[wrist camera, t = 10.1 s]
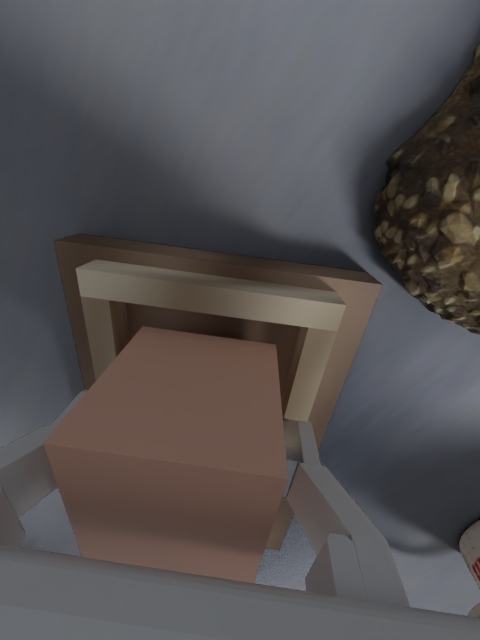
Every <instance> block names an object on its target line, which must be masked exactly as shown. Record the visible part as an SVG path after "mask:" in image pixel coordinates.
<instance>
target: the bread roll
mask: <svg viewBox="0 0 480 640" xmlns="http://www.w3.org/2000/svg"><path fill="white" fill-rule="evenodd" d="M387 165H388V167H389V170H388V172H387V175H386V185H385V186H384V187H383V188H382V189H381V190H380V192H379V193H378V194H377V195H376V199H375V209H374V225H375V238H376V239H377V241H378V242H379V246H380V252H381V253H382V254H383V255H384V256H385V258H386V259H387V260H388V261H389V263H390V264H391V265H392V267H393V268H394V270H395V271H396V273H397V274H398V276H399V277H400V279H401V281H402V282H403V283H404V288H405V289H406V290H407V291H408V292H409V293H410V294H412V295H413V296H414V297H415V298H417V299H419V301H420V302H421V303H422V304H423V305H424V306H425V307H426V308H427V309H428V310H429V311H431V312H434V313H437V314H439V315H440V316H441V319H443V320H445V321H447V322H449V323H456V324H458V325H460V326H462V327H463V328H466V329H468V330H469V331H470V332H472V333H476V334H479V335H480V44H479V45H478V46H477V48H476V49H475V51H474V59H473V62H472V64H471V65H470V66H469V67H468V69H467V70H466V71H465V73H464V74H463V76H462V78H461V80H460V81H459V83H458V85H457V86H456V88H455V90H454V92H453V93H452V95H451V96H450V97H449V98H448V99H447V101H446V102H445V103H444V104H443V105H442V106H441V107H440V108H439V109H438V111H437V112H436V113H435V114H434V115H433V116H432V117H431V118H430V119H429V120H428V122H427V123H426V124H425V125H424V126H423V127H422V128H421V129H420V130H419V131H418V132H416V133H415V134H414V135H413V136H412V137H410V138H409V139H408V140H407V141H406V142H404V143H403V144H402V145H401V146H400V147H399V148H398V149H397V150H396V151H395V152H394V153H393V155H392V156H391V157H390V158H389V159H388V160H387Z"/></svg>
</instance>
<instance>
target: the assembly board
mask: <svg viewBox="0 0 480 640" xmlns="http://www.w3.org/2000/svg"><path fill="white" fill-rule="evenodd" d="M54 245H55V250H56V255H57V259H58V264H59V269H60V274H61V279H62V283H63V288H64V293H65V298H66V303H67V307H68V312H69V317H70V322H71V327H72V331H73V336H74V341H75V346H76V351H77V355H78V360H79V365H80V370H81V375H82V379H83V384H84V389H85V390H89V389H90V387H91V386H92V385H93V384H94V383H95V382H96V380H97V379H98V378H99V377H100V376H101V375H102V373H103V372H104V371H105V370H106V369H107V368H108V366H109V365H110V364H111V363H112V362H113V360H114V359H115V358H116V357H117V356H118V355H119V353H120V352H121V351H122V350H123V349H124V348H125V346H126V345H127V344H128V343H129V342H130V341H131V339H132V338H133V337H134V336H135V335H136V334H137V332H138V331H139V330H140V329H141V328H142V326H145V327H152V328H159V329H167V330H174V331H181V332H188V333H195V334H203V335H210V336H217V337H224V338H231V339H239V340H246V341H253V342H260V343H267V344H275V345H276V350H277V361H278V372H279V383H280V394H281V405H282V416H283V418H285V419H293V420H299V421H307V422H311V424H312V426H313V431H314V435H315V440H316V444H317V449H318V450H319V447H320V445H321V442H322V440H323V437H324V434H325V432H326V429H327V427H328V424H329V422H330V419H331V416H332V414H333V411H334V409H335V406H336V404H337V401H338V398H339V396H340V393H341V391H342V388H343V385H344V383H345V380H346V378H347V375H348V373H349V370H350V367H351V365H352V362H353V360H354V357H355V355H356V352H357V349H358V347H359V344H360V342H361V339H362V336H363V334H364V331H365V329H366V326H367V324H368V321H369V318H370V316H371V313H372V311H373V308H374V306H375V303H376V300H377V298H378V295H379V293H380V290H381V288H382V284H381V283H380V282H379V281H377V280H376V279H375V278H374V277H373V276H371V275H370V274H369V273H368V272H361V271H353V270H346V269H338V268H331V267H323V266H316V265H309V264H301V263H294V262H286V261H279V260H271V259H264V258H256V257H249V256H242V255H234V254H227V253H219V252H212V251H204V250H197V249H189V248H182V247H175V246H167V245H160V244H152V243H145V242H137V241H130V240H122V239H115V238H107V237H100V236H93V235H85V234H76V235H72V236H68V237H64V238H61V239H57V240H54ZM293 514H294V512H293V510H292V508H291V506H290V504H289V502H288V501H287V497H282V499H281V502H280V505H279V508H278V511H277V514H276V517H275V520H274V523H273V526H272V529H271V532H270V535H269V538H268V541H267V544H266V547H265V548H266V549H273V550H280V548H281V545H282V543H283V540H284V538H285V535H286V532H287V530H288V527H289V525H290V522H291V520H292V517H293Z"/></svg>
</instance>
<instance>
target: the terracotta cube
mask: <svg viewBox="0 0 480 640" xmlns="http://www.w3.org/2000/svg"><path fill="white" fill-rule="evenodd" d="M43 445H44V448H45V451H46V454H47V457H48V459H49V462H50V465H51V468H52V471H53V474H54V477H55V480H56V482H57V485H58V488H59V491H60V494H61V497H62V500H63V503H64V506H65V508H66V511H67V514H68V517H69V520H70V523H71V526H72V529H73V532H74V534H75V537H76V540H77V543H78V546H79V549H80V552H81V555H82V557H85V558H91V559H98V560H104V561H111V562H117V563H124V564H131V565H137V566H144V567H150V568H157V569H163V570H170V571H176V572H183V573H189V574H196V575H203V576H209V577H216V578H222V579H229V580H235V581H242V582H248V583H254V580H255V577H256V574H257V571H258V568H259V565H260V562H261V559H262V556H263V553H264V550H265V547H266V544H267V541H268V538H269V535H270V532H271V529H272V526H273V523H274V520H275V517H276V514H277V511H278V508H279V505H280V502H281V499H282V496H283V493H284V490H285V487H286V484H287V481H288V472H287V461H286V449H285V438H284V427H283V416H282V405H281V394H280V383H279V372H278V361H277V350H276V345H275V344H267V343H260V342H253V341H246V340H239V339H231V338H224V337H217V336H210V335H203V334H195V333H188V332H181V331H174V330H167V329H159V328H152V327H145V326H142V328H141V329H140V330H139V331H138V332H137V334H136V335H135V336H134V337H133V338H132V339H131V341H130V342H129V343H128V344H127V345H126V346H125V348H124V349H123V350H122V351H121V352H120V353H119V355H118V356H117V357H116V358H115V359H114V360H113V362H112V363H111V364H110V365H109V366H108V368H107V369H106V370H105V371H104V372H103V373H102V375H101V376H100V377H99V378H98V379H97V380H96V382H95V383H94V384H93V385H92V386H91V387H90V389H89V390H88V391H87V392H86V393H85V395H84V396H83V397H82V398H81V399H80V400H79V402H78V403H77V404H76V405H75V406H74V407H73V409H72V410H71V411H70V412H69V413H68V414H67V416H66V417H65V418H64V419H63V420H62V422H61V423H60V424H59V425H58V426H57V427H56V429H55V430H54V431H53V432H52V433H51V434H50V436H49V437H48V438H47V439H46V440H45V441H44V443H43Z"/></svg>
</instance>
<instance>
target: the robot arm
mask: <svg viewBox="0 0 480 640" xmlns="http://www.w3.org/2000/svg"><path fill="white" fill-rule="evenodd" d="M87 391H88V390H83V391H81V392H80V393H79V394H78V395H77V396H76V397H75V398H74V399H73V400H72V402H71V403H70V404H69V405H68V406H67V407H66V408H65V409H64V411H63V412H62V413H61V414H60V415H59V416H58V417H57V418H56V419H55V421H54V422H53V423H52V424H51V425H50V426H43V427H41V428H39V429H37V430H35V431H33V432H31V433H29V434H27V435H25V436H23V437H21V438H19V439H17V440H15V441H13V442H11V443H9V444H7V445H5V446H3V447H1V448H0V640H480V618H477V617H471V616H464V615H458V614H451V613H445V612H438V611H432V610H425V609H419V608H412V607H410V604H409V602H408V599H407V596H406V593H405V590H404V587H403V585H402V582H401V579H400V576H399V573H398V570H397V568H396V565H395V562H394V559H393V556H392V553H391V551H390V548H389V545H388V542H387V540H386V538H385V537H384V536H383V535H382V534H381V532H380V531H379V530H378V529H377V528H376V526H375V525H374V524H373V523H372V522H371V520H370V519H369V518H368V517H367V516H366V514H365V513H364V512H363V511H362V510H361V508H360V507H359V506H358V505H357V504H356V502H355V501H354V500H353V499H352V497H351V496H350V495H349V494H348V493H347V491H346V490H345V489H344V488H343V487H342V485H341V484H340V483H339V482H338V481H337V479H336V478H335V477H334V476H333V475H332V473H331V472H330V471H329V470H328V469H327V467H326V466H321V463H320V458H319V454H318V449H317V444H316V440H315V435H314V431H313V426H312V424H311V422H307V421H299V420H293V419H285V418H283V427H284V438H285V449H286V461H287V472H288V481H287V484H286V487H285V490H284V493H283V496H282V497H287V501H288V502H289V504H290V506H291V508H292V510H293V512H294V514H295V516H296V517H297V519H298V521H299V523H300V525H301V527H302V529H303V531H304V532H305V534H306V536H307V538H308V540H309V542H310V544H311V546H312V547H313V549H314V551H315V553H316V555H317V557H316V559H315V561H314V563H313V565H312V567H311V568H310V570H309V572H308V574H307V576H306V578H305V583H306V591H301V590H294V589H288V588H281V587H275V586H268V585H262V584H255V583H248V582H242V581H235V580H229V579H222V578H216V577H209V576H203V575H196V574H189V573H183V572H176V571H170V570H163V569H157V568H150V567H144V566H137V565H131V564H124V563H117V562H111V561H104V560H98V559H91V558H85V557H78V556H72V555H65V554H58V553H52V552H45V551H39V550H32V549H26V548H19V545H20V544H21V542H22V541H23V539H24V538H25V530H24V528H23V526H22V524H21V522H20V520H19V517H20V516H22V515H23V514H24V513H25V512H27V511H28V510H29V509H30V508H32V507H33V506H34V505H36V504H37V503H38V502H39V501H41V500H42V499H43V498H44V497H46V496H47V495H48V494H49V493H51V492H52V491H53V490H55V489H56V488H57V487H58V485H57V482H56V480H55V477H54V474H53V471H52V468H51V465H50V462H49V459H48V457H47V454H46V451H45V448H44V445H43V443H44V441H45V440H46V439H47V438H48V437H49V436H50V434H51V433H52V432H53V431H54V430H55V429H56V427H57V426H58V425H59V424H60V423H61V422H62V420H63V419H64V418H65V417H66V416H67V414H68V413H69V412H70V411H71V410H72V409H73V407H74V406H75V405H76V404H77V403H78V402H79V400H80V399H81V398H82V397H83V396H84V395H85V393H86V392H87Z"/></svg>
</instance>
